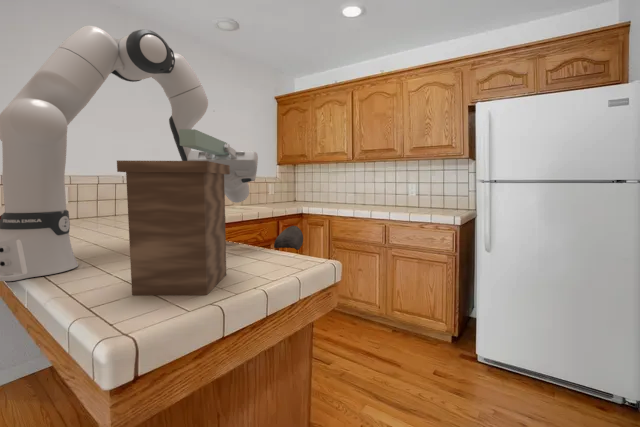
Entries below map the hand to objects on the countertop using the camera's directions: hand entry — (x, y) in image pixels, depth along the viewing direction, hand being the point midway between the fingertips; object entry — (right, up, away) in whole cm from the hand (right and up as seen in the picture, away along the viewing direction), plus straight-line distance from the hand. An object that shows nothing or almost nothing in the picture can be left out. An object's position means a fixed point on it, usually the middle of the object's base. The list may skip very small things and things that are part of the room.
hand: (217, 145), depth 93 cm
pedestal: (0, -34, -23) cm, 41 cm away
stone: (+19, -30, +17) cm, 39 cm away
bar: (0, -3, -8) cm, 9 cm away
